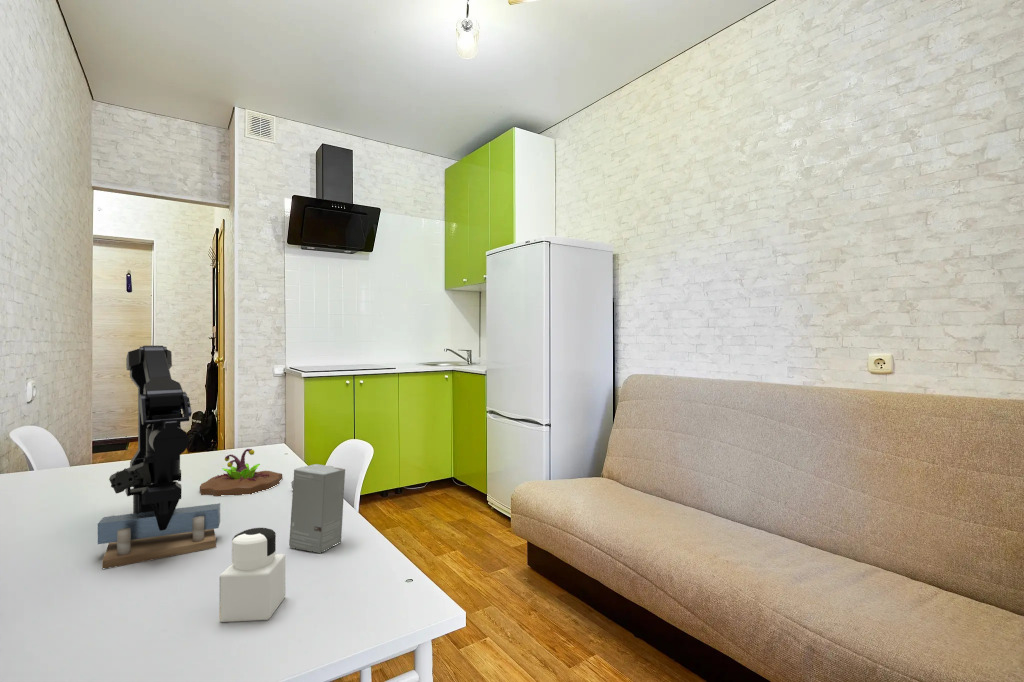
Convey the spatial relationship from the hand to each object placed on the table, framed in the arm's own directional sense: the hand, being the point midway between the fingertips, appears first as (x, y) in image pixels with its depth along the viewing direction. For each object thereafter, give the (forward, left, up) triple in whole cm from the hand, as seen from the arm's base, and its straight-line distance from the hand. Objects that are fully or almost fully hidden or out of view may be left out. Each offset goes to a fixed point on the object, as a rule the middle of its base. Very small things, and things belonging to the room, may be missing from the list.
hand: (163, 526), depth 103 cm
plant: (-42, +18, -5) cm, 46 cm away
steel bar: (0, 0, -1) cm, 1 cm away
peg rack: (0, 0, -4) cm, 4 cm away
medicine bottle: (+37, +13, -4) cm, 39 cm away
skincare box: (+16, +27, -4) cm, 31 cm away
